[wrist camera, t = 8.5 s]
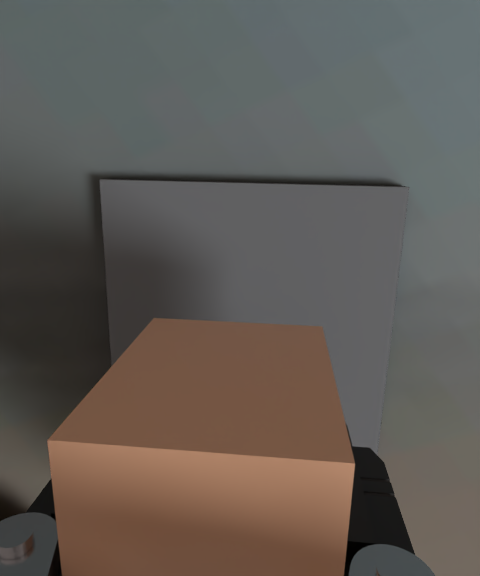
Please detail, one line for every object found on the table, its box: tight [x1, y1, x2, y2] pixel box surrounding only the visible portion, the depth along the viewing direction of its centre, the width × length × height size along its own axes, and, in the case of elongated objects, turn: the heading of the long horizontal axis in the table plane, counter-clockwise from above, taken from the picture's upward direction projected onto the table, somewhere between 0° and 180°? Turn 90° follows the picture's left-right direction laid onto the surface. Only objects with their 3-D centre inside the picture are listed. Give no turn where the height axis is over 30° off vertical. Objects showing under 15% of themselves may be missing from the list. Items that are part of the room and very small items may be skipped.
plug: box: [47, 318, 355, 576], centre depth 9 cm, size 9×4×5 cm, turn 179°
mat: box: [100, 179, 409, 455], centre depth 15 cm, size 12×9×1 cm
